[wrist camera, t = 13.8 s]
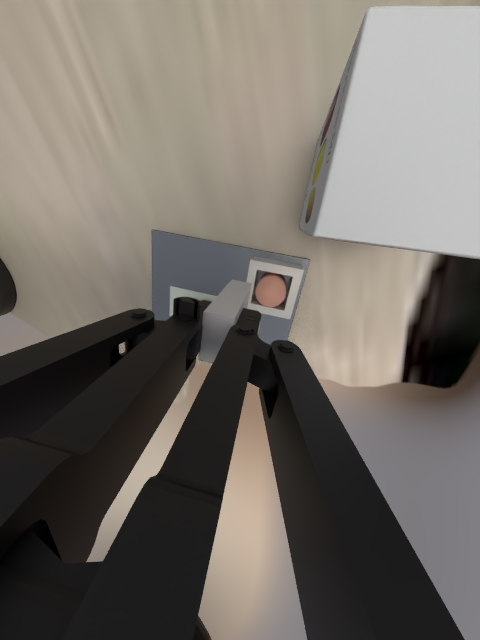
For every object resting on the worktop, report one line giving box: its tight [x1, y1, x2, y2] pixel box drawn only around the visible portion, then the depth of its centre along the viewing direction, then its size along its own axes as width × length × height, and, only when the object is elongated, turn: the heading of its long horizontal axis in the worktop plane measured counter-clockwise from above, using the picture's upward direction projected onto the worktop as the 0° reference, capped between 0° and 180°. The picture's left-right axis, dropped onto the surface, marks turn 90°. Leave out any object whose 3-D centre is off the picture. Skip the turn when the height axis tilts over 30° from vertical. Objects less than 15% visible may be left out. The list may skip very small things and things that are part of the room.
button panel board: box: [152, 230, 310, 345], centre depth 32 cm, size 22×16×4 cm
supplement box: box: [299, 6, 480, 259], centre depth 18 cm, size 10×9×17 cm
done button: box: [255, 272, 286, 307], centre depth 28 cm, size 4×4×4 cm
